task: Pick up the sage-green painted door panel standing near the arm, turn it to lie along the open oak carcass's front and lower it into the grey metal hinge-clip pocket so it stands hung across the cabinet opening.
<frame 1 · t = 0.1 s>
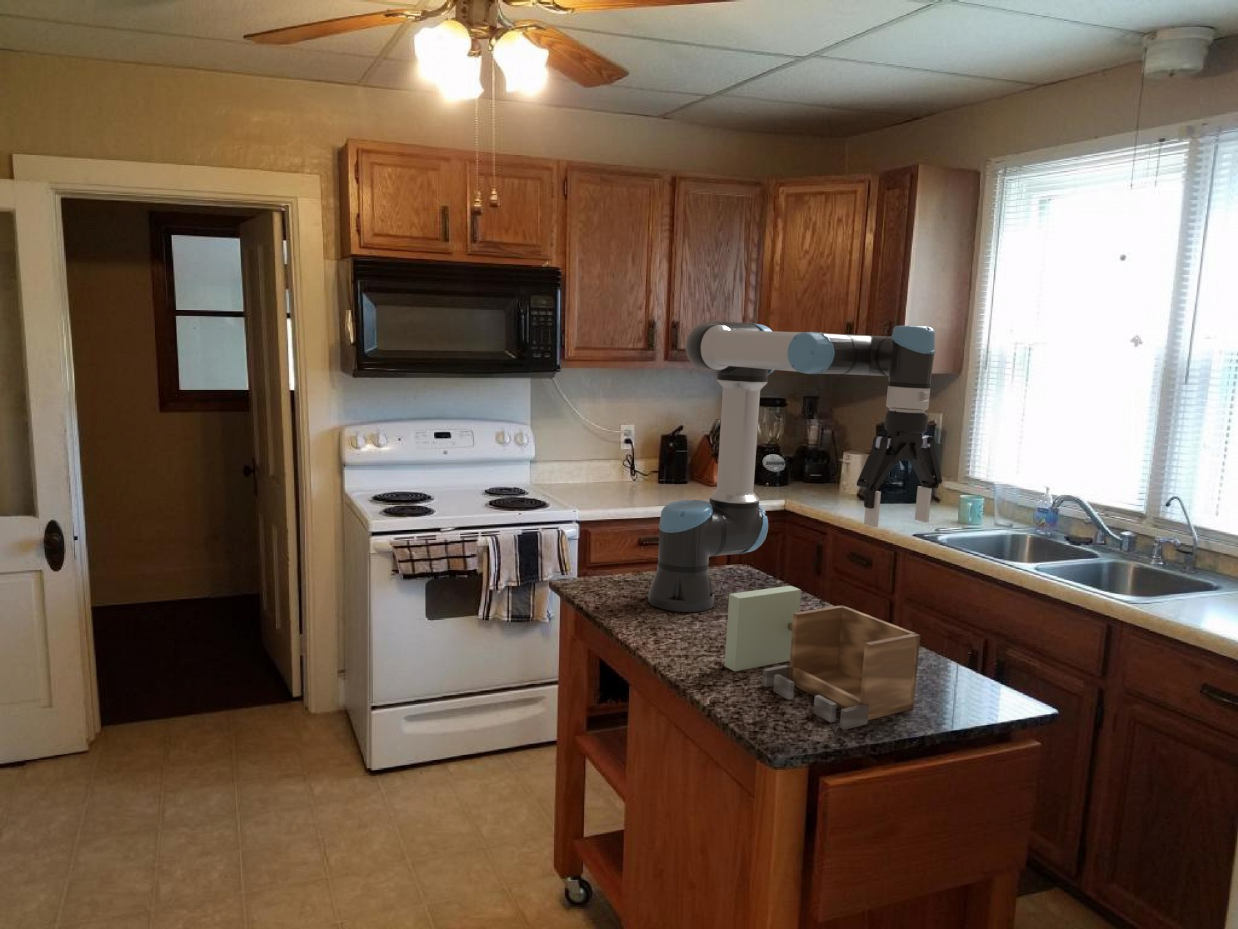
hand: (896, 523, 167), 28 cm above the counter, fingers open, 13 cm apart
carcass: (848, 695, 156), on the counter
door: (760, 663, 170), on the counter
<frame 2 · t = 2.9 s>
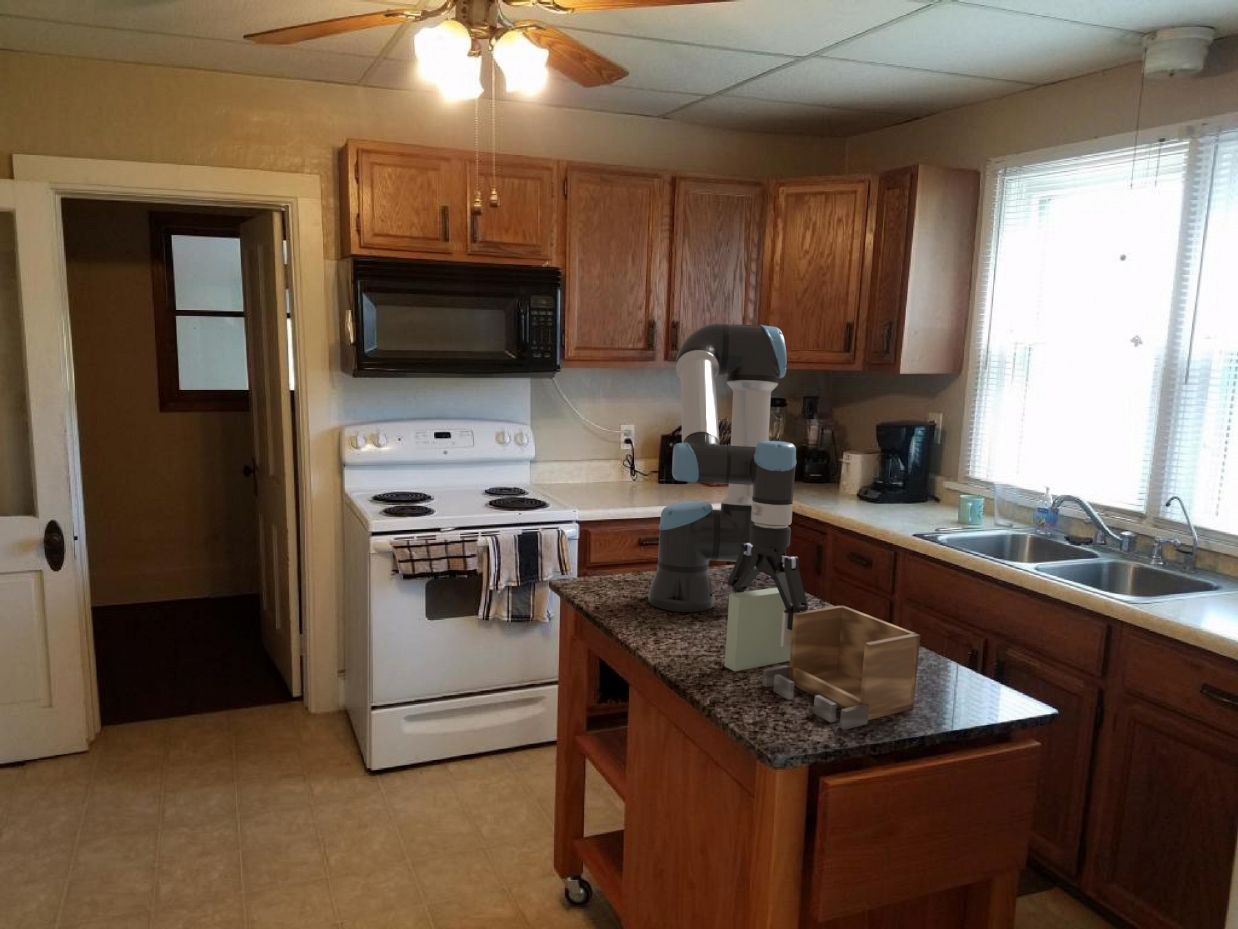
hand: (763, 635, 168), 6 cm above the counter, fingers open, 13 cm apart
nothing on the counter moved.
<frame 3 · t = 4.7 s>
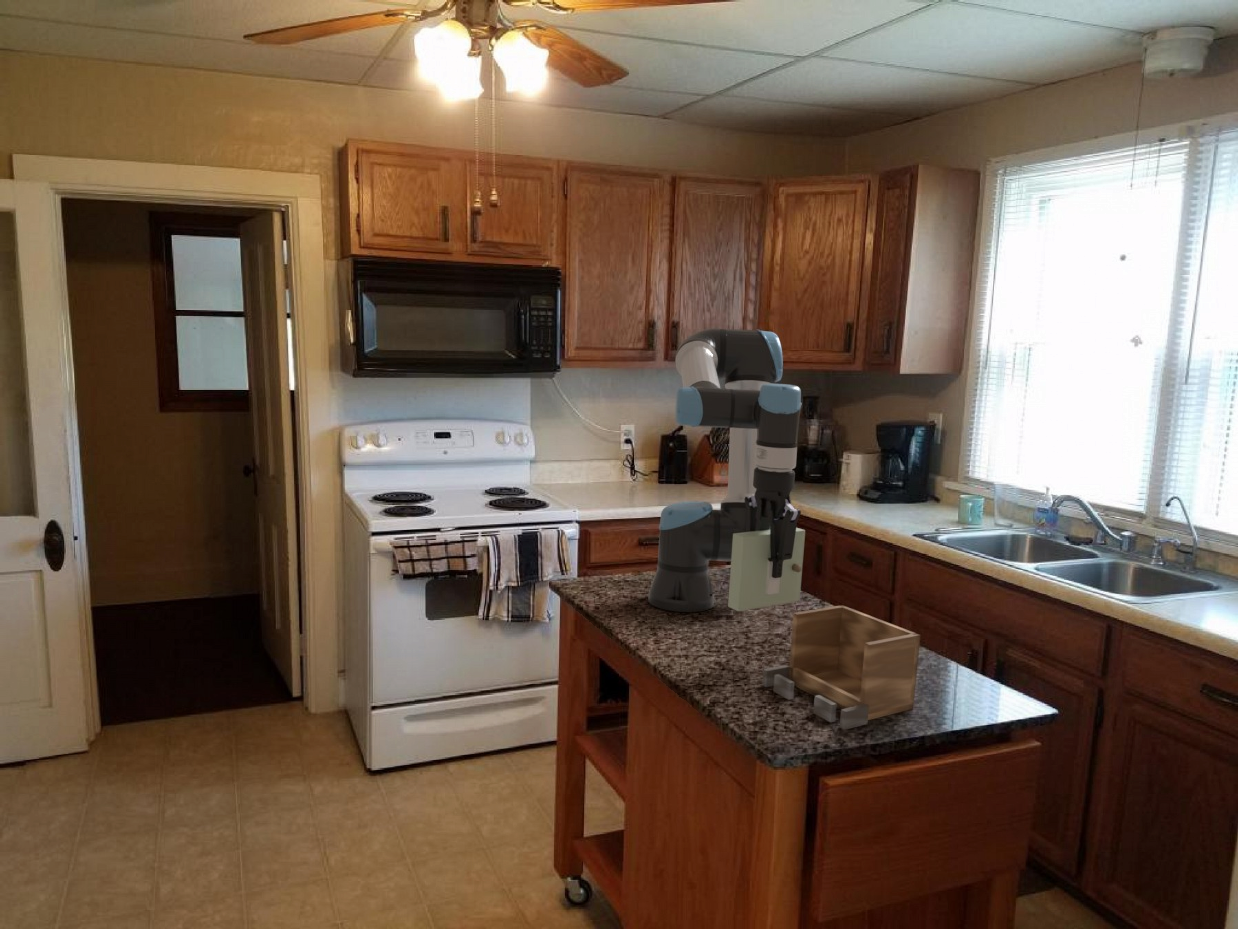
hand: (765, 590, 168), 14 cm above the counter, fingers closed on door, 3 cm apart
door: (764, 603, 169), point 11 cm above the counter, touching gripper
everything else where it was.
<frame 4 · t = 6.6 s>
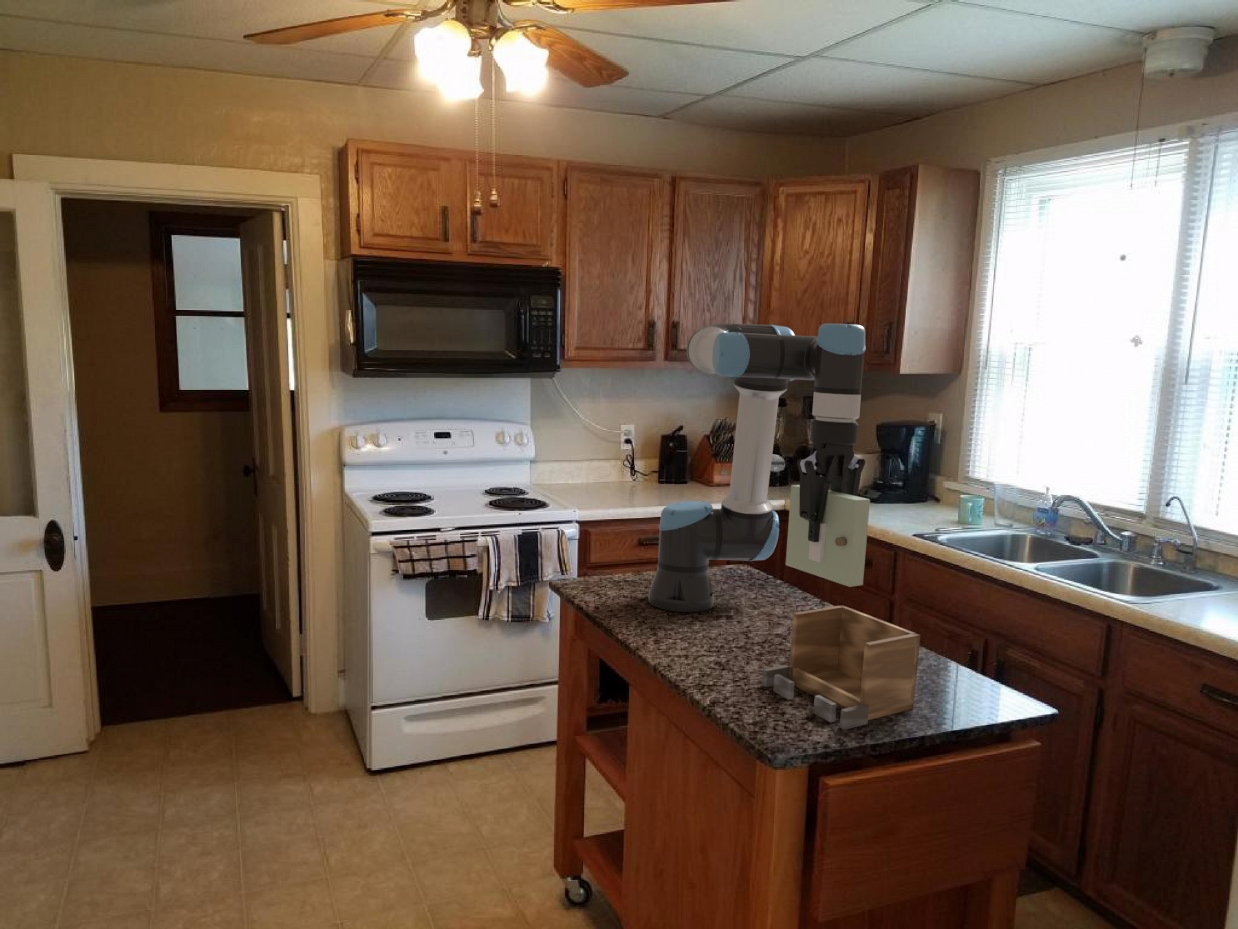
hand: (824, 559, 148), 25 cm above the counter, fingers closed on door, 3 cm apart
door: (822, 574, 149), point 22 cm above the counter, touching gripper
everything else where it was.
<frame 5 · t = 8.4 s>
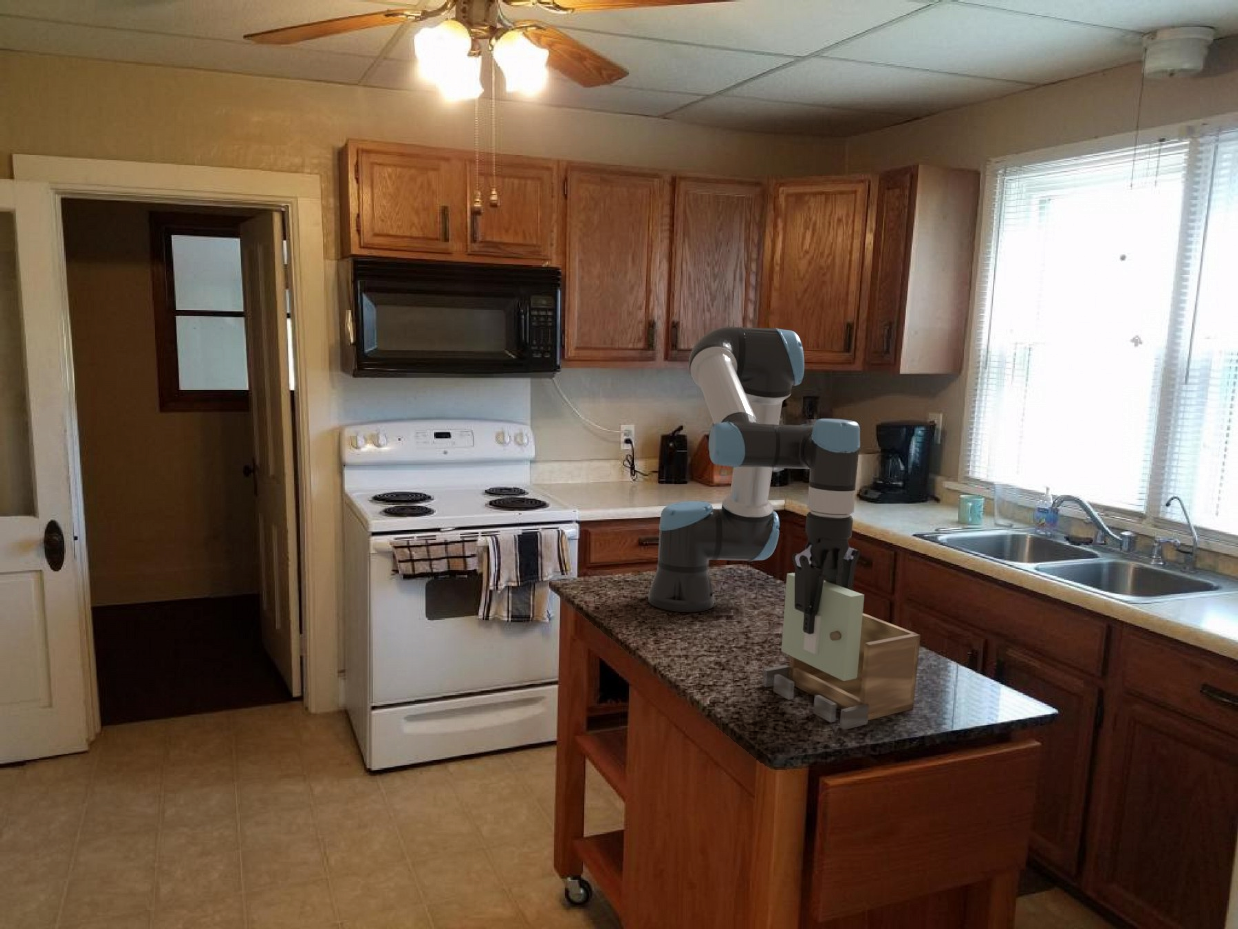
hand: (819, 649, 150), 10 cm above the counter, fingers closed on door, 3 cm apart
door: (817, 664, 150), point 7 cm above the counter, touching gripper
everything else where it was.
when the fingers open (4 cm above the counter, at t = 9.8 s): door drops 2 cm, on the counter.
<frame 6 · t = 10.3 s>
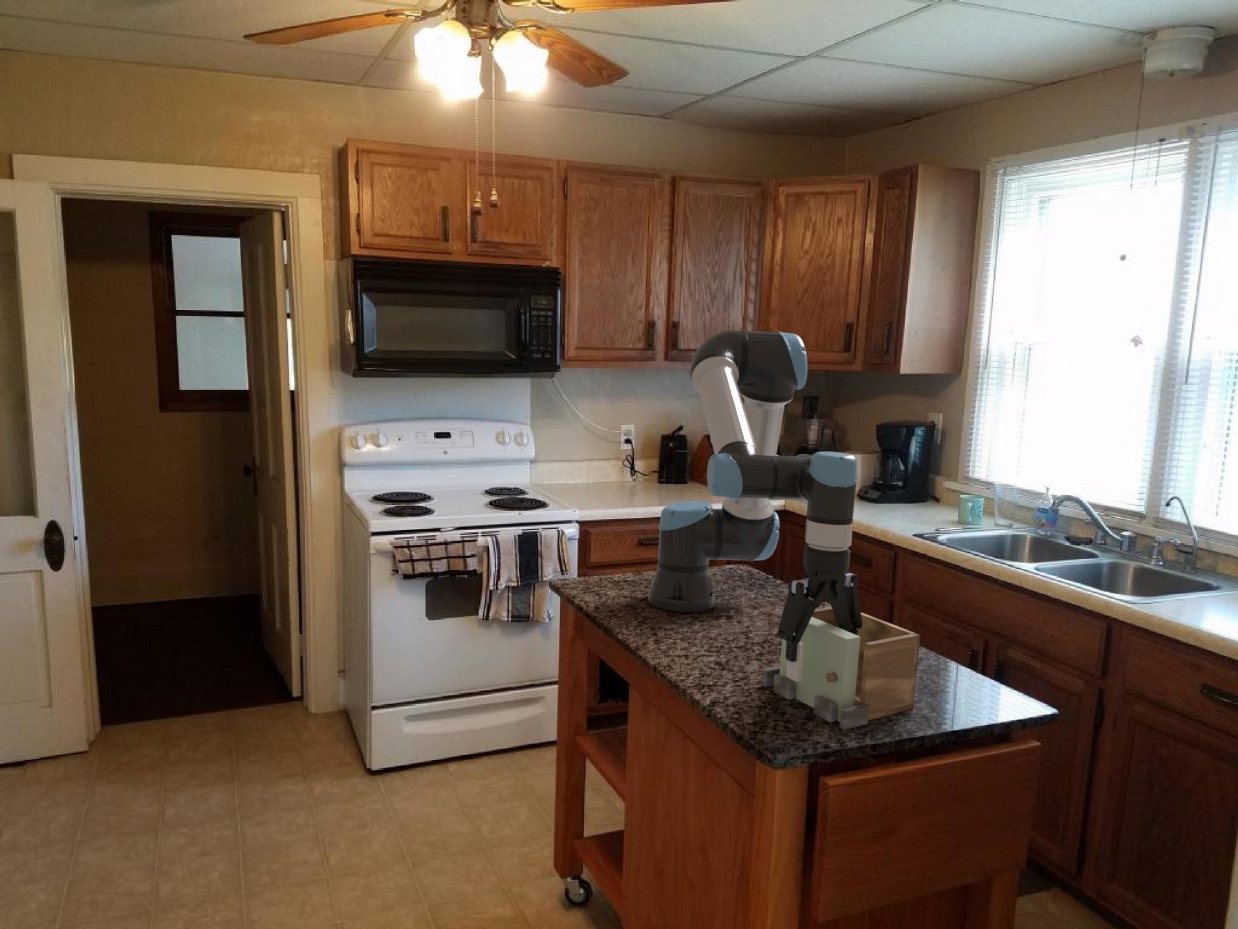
hand: (816, 674, 151), 5 cm above the counter, fingers open, 10 cm apart
door: (814, 703, 151), on the counter
everything else where it was.
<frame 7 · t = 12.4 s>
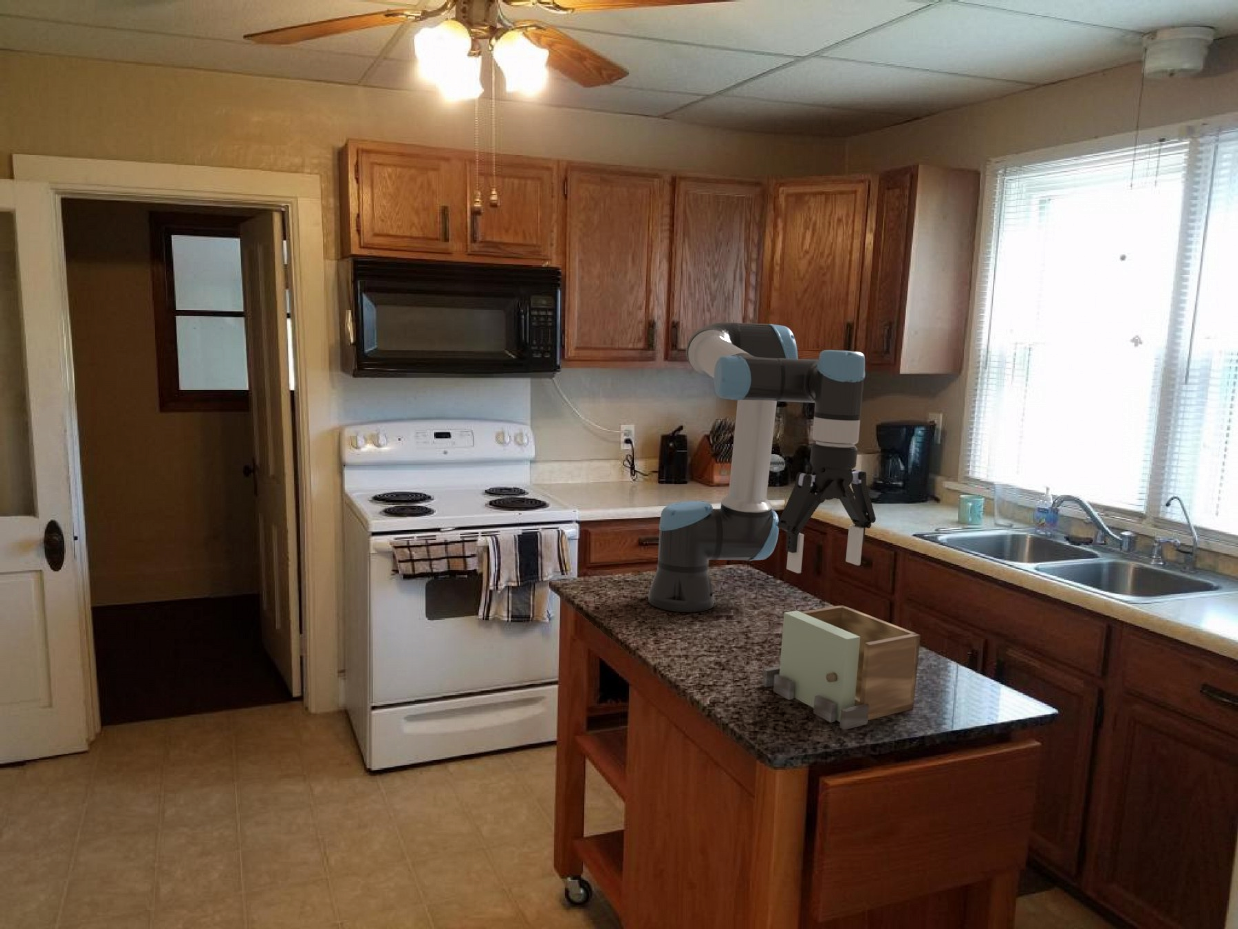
hand: (823, 567, 152), 23 cm above the counter, fingers open, 13 cm apart
nothing on the counter moved.
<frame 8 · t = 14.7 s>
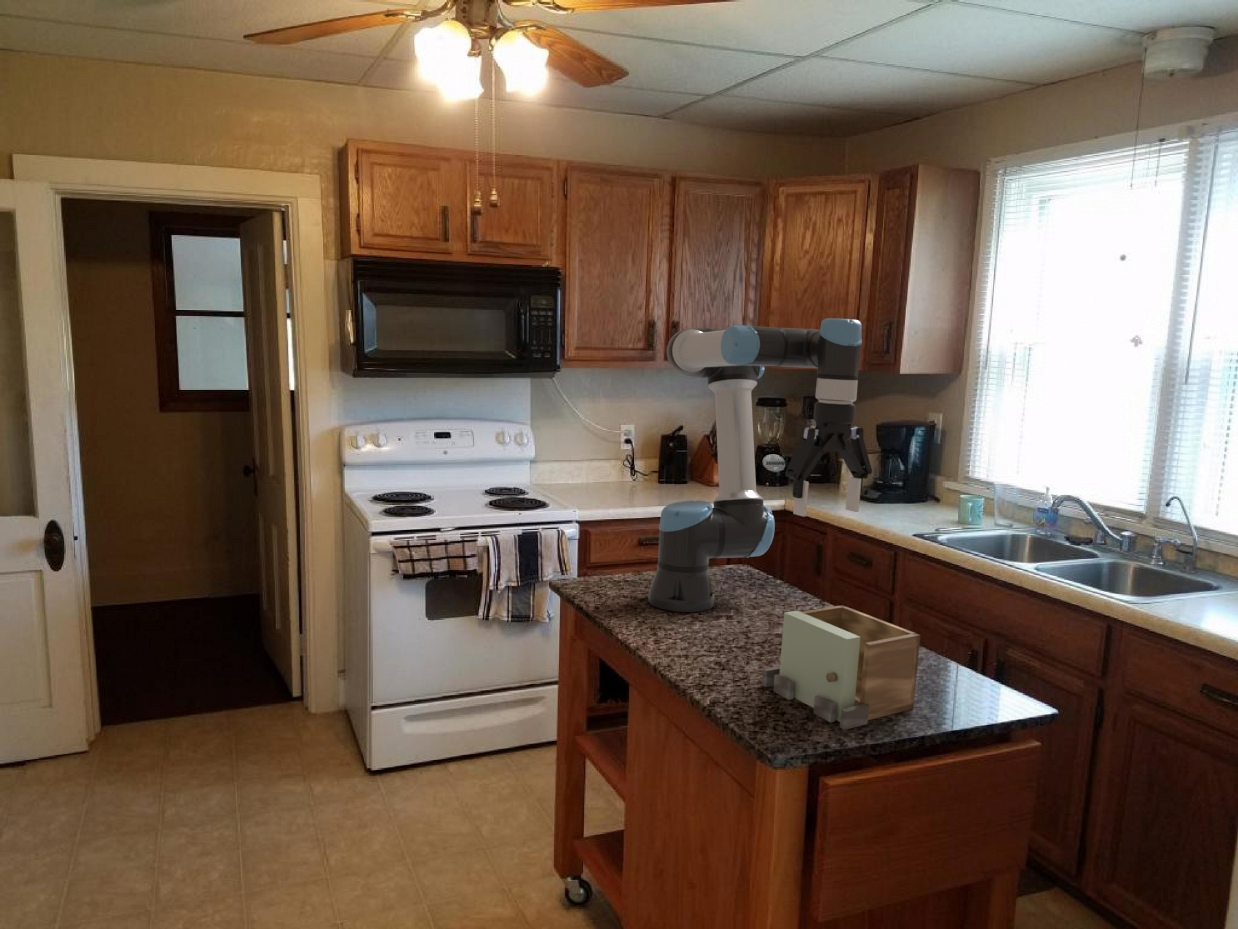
hand: (826, 513, 170), 29 cm above the counter, fingers open, 13 cm apart
nothing on the counter moved.
at the end: door 0.1 cm from the target spot, on the counter; door tilted 0°; the gripper is holding nothing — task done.
